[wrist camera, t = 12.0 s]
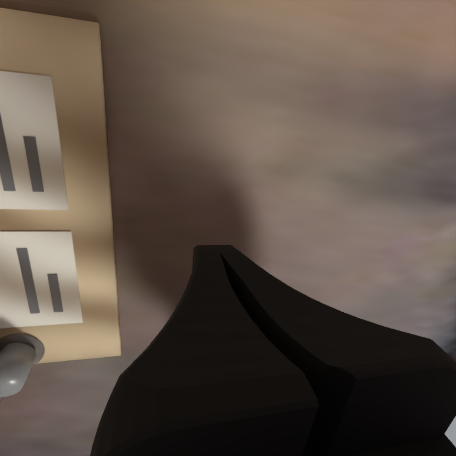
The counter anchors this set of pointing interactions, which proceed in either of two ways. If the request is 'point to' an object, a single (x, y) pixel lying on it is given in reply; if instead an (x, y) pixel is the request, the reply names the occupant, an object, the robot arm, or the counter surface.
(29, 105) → the label board
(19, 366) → the grey slotted block
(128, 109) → the counter surface
